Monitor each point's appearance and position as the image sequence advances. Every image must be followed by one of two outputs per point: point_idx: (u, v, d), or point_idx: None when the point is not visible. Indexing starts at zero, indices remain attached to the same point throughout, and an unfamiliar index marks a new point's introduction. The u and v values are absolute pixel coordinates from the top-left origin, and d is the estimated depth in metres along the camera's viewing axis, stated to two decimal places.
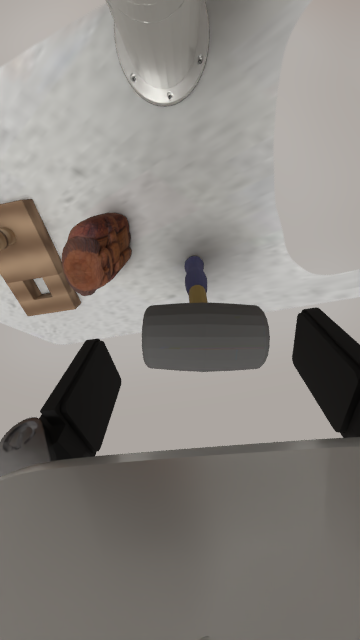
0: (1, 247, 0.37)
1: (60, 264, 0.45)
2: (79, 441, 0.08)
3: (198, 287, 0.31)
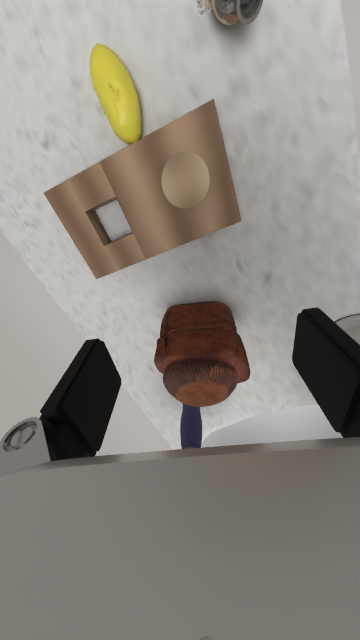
0: None
1: None
2: (79, 441, 0.08)
3: None
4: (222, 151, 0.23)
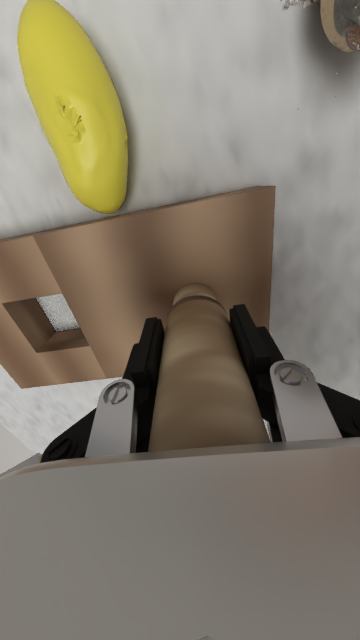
0: None
1: None
2: None
3: None
4: (266, 269, 0.13)
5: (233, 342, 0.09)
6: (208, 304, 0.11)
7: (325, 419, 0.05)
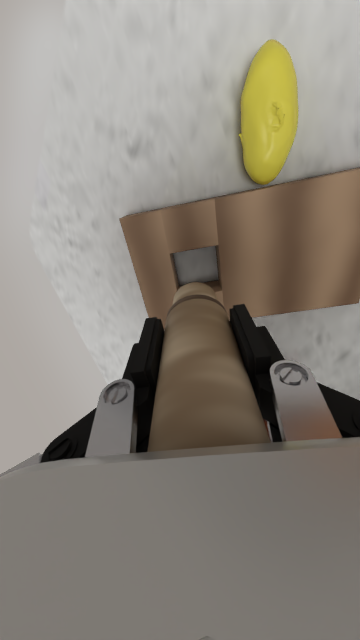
0: None
1: None
2: None
3: None
4: None
5: (233, 341, 0.09)
6: (208, 303, 0.11)
7: (325, 419, 0.05)
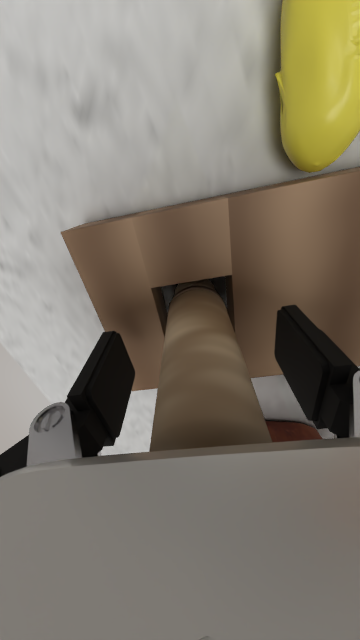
0: None
1: None
2: (101, 426, 0.08)
3: None
4: None
5: (229, 324, 0.10)
6: (207, 293, 0.12)
7: None
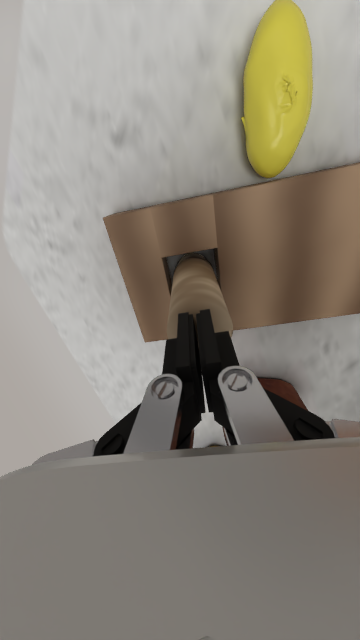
0: None
1: None
2: (196, 400, 0.08)
3: None
4: None
5: (214, 277, 0.15)
6: (200, 260, 0.17)
7: (273, 419, 0.05)
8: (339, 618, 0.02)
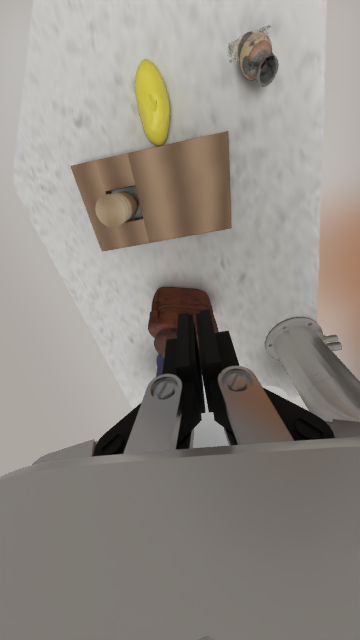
0: None
1: None
2: (196, 400, 0.08)
3: None
4: (227, 172, 0.30)
5: (128, 197, 0.29)
6: (125, 192, 0.31)
7: (273, 419, 0.05)
8: (339, 618, 0.02)
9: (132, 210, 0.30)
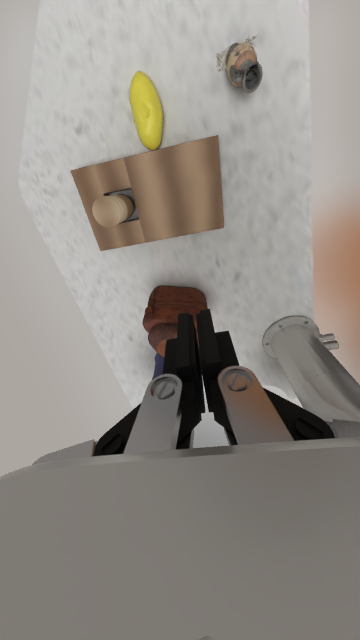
0: None
1: None
2: (196, 400, 0.08)
3: None
4: (218, 173, 0.31)
5: (124, 199, 0.31)
6: (122, 194, 0.33)
7: (273, 419, 0.05)
8: (339, 618, 0.02)
9: (128, 211, 0.31)
